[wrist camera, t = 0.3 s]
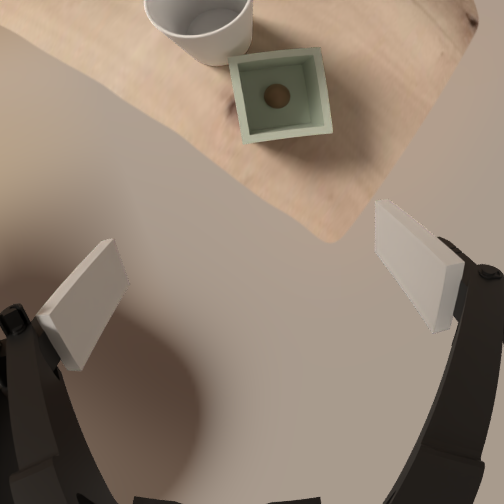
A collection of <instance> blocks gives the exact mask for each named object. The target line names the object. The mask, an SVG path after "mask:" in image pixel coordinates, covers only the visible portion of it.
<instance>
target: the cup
mask: <svg viewBox="0 0 504 504" xmlns="http://www.w3.org/2000/svg"><path fill="white" fill-rule="evenodd" d="M144 8H145V12H146V14H147V16H148V18H149V20H150V21H151V23H152V24H153V25H154V26H155V27H156V28H157V29H158V30H160V31H161V32H162V33H163V34H165V35H166V36H167V37H168V38H170V39H171V40H172V41H173V42H175V43H176V44H177V45H178V46H180V47H181V48H182V49H183V50H184V51H186V52H187V53H188V54H189V55H190V56H192V57H193V58H194V59H195V60H197V61H198V62H200V63H203V64H205V65H210V66H223V65H227V64H229V63H228V57H233V56H240V55H244V54H245V53H246V52H247V50H248V49H249V47H250V45H251V41H252V27H253V0H144Z"/></svg>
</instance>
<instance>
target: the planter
mask: <svg viewBox="0 0 504 504" xmlns="http://www.w3.org/2000/svg"><path fill="white" fill-rule="evenodd" d="M228 63H229V69H230V74H231V80H232V85H233V91H234V97H235V102H236V108H237V113H238V119H239V125H240V131H241V136H242V142H243V144H250V143H256V142H263V141H270V140H277V139H284V138H292V137H301V136H309V135H319V134H329V133H333V128H332V120H331V112H330V104H329V97H328V91H327V84H326V78H325V71H324V65H323V60H322V54H321V49H320V47H313V48H298V49H287V50H277V51H268V52H260V53H253V54H246V55H240V56H233V57H228ZM272 84H282V85H284V86H285V87H287V89H288V90H289V92H290V101H289V103H288V104H287V105H286V106H285V107H283V108H279V109H275V108H272V107H270V106H269V105H267V103H266V102H265V100H264V92H265V90H266V88H267V87H268V86H270V85H272Z"/></svg>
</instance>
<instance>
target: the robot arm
mask: <svg viewBox="0 0 504 504" xmlns="http://www.w3.org/2000/svg"><path fill="white" fill-rule="evenodd" d="M375 253H376V254H377V255H378V257H379V258H380V259H381V261H382V262H383V263H384V265H385V266H386V267H387V269H388V270H389V271H390V273H391V274H392V275H393V277H394V278H395V280H396V281H397V282H398V284H399V285H400V287H401V288H402V289H403V291H404V292H405V294H406V295H407V297H408V298H409V299H410V301H411V302H412V304H413V305H414V307H415V308H416V309H417V311H418V313H419V314H420V316H421V317H422V318H423V320H424V321H425V323H426V325H427V326H428V328H429V329H430V331H431V332H432V334H434V333H438V332H441V331H445V330H448V329H450V326H451V322H452V318H453V316H454V317H455V318H456V320H457V321H458V326H457V330H456V333H455V336H454V339H453V342H452V348H451V351H450V355H449V358H448V361H447V365H446V368H445V371H444V374H443V377H442V380H441V382H440V385H439V388H438V391H437V394H436V397H435V399H434V402H433V405H432V407H431V409H430V412H429V414H428V417H427V419H426V421H425V424H424V426H423V428H422V431H421V433H420V435H419V437H418V440H417V442H416V444H415V446H414V448H413V450H412V452H411V454H410V456H409V458H408V460H407V462H406V465H405V466H404V468H403V470H402V472H401V474H400V475H399V477H398V479H397V481H396V483H395V485H394V486H393V488H392V490H391V491H390V493H389V494H388V496H387V498H386V499H385V501H384V502H383V504H473V502H474V499H475V497H476V494H477V492H478V489H479V486H480V483H481V480H482V477H483V473H484V469H485V463H484V462H483V461H481V454H482V450H483V447H484V444H485V440H486V436H487V432H488V428H489V424H490V420H491V415H492V411H493V406H494V401H495V395H496V390H497V384H498V377H499V370H500V361H501V353H502V343H503V344H504V275H503V273H502V272H501V271H500V270H499V269H497V268H495V267H493V266H490V265H485V264H480V265H476V264H475V263H474V262H473V261H472V260H471V259H470V258H469V257H467V256H466V255H465V254H464V253H462V251H460V250H459V249H458V248H456V246H455V245H453V244H452V243H451V242H450V241H448V240H446V239H444V238H441V237H436V236H434V235H433V234H432V233H431V232H430V231H429V230H427V229H426V228H425V227H424V226H423V225H421V224H420V223H419V222H417V221H416V220H415V219H414V218H413V217H411V216H410V215H409V214H407V213H406V212H405V211H404V210H402V209H401V208H400V207H399V206H397V205H396V204H395V203H393V202H392V201H391V200H389V199H386V200H376V201H375ZM129 285H130V283H129V280H128V277H127V274H126V272H125V269H124V266H123V263H122V260H121V257H120V254H119V251H118V248H117V245H116V243H115V239H114V238H113V239H108V240H102V241H101V242H100V243H99V244H98V245H97V246H96V247H95V248H94V249H93V250H92V251H91V253H90V254H89V255H88V256H87V257H86V258H85V259H84V260H83V261H82V262H81V263H80V265H78V266H77V268H76V269H75V270H74V271H73V272H72V273H71V274H70V275H69V277H68V278H67V279H66V280H65V281H64V282H63V283H62V284H61V285H60V287H59V288H58V289H57V290H56V291H55V292H54V294H53V295H52V296H51V297H50V298H49V300H48V301H47V302H46V303H45V304H44V305H43V307H42V308H41V309H40V310H39V312H38V313H37V314H36V316H35V317H34V319H33V320H32V321H31V322H30V320H29V318H28V316H27V314H26V312H25V310H24V309H23V306H22V305H21V304H13V305H11V306H9V307H7V308H6V309H4V310H3V311H2V312H1V313H0V326H1V328H2V330H3V332H4V333H5V335H6V337H7V338H6V339H3V340H0V504H118V503H117V502H116V500H115V499H114V498H113V496H112V494H111V492H110V491H109V489H108V487H107V485H106V483H105V481H104V479H103V477H102V475H101V473H100V471H99V469H98V467H97V465H96V463H95V461H94V458H93V456H92V454H91V452H90V450H89V447H88V445H87V443H86V441H85V438H84V435H83V433H82V431H81V428H80V426H79V423H78V420H77V418H76V415H75V412H74V410H73V407H72V404H71V401H70V398H69V395H68V392H67V389H66V386H65V383H64V380H63V376H62V373H61V371H60V370H59V368H58V367H57V365H58V363H59V361H60V360H61V361H62V362H63V364H64V366H65V367H66V369H67V370H72V371H82V369H83V367H84V365H85V363H86V361H87V359H88V358H89V356H90V354H91V352H92V350H93V348H94V346H95V345H96V343H97V341H98V339H99V337H100V335H101V333H102V332H103V330H104V328H105V326H106V324H107V323H108V321H109V319H110V317H111V316H112V314H113V312H114V310H115V309H116V307H117V305H118V303H119V302H120V300H121V298H122V297H123V295H124V293H125V292H126V290H127V288H128V287H129ZM133 504H181V503H178V502H175V501H165V500H157V499H149V498H142V497H136V496H135V497H134V500H133ZM268 504H321V500H320V497H316V498H309V499H302V500H293V501H283V502H272V503H268Z"/></svg>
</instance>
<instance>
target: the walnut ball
mask: <svg viewBox="0 0 504 504" xmlns="http://www.w3.org/2000/svg"><path fill="white" fill-rule="evenodd" d="M264 100H265V102H266V103H267V105H269V106H270V107H272V108H275V109H279V108H283V107H285V106H286V105H287V104H288V103H289V101H290V92H289V90H288V89H287V87H285V86H284V85H282V84H272V85H270V86H268V87H267V88H266V90H265V92H264Z"/></svg>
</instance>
